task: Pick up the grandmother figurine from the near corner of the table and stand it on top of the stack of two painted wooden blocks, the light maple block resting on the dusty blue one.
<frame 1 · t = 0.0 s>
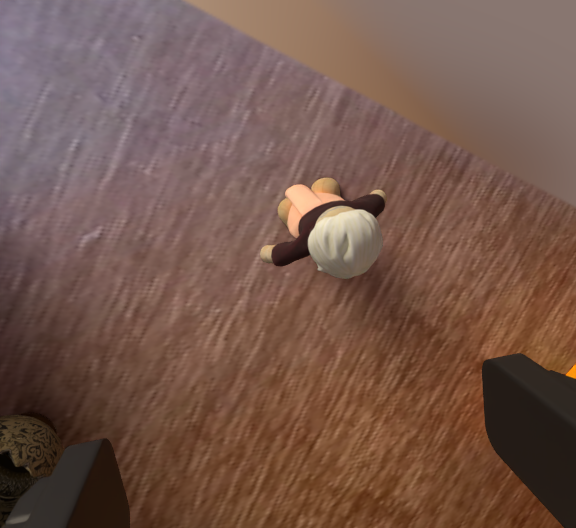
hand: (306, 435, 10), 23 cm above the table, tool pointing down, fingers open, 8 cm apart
orange juice: (567, 423, 39), on the table
cup: (34, 430, 33), on the table
grandmother figurine: (303, 209, 32), on the table
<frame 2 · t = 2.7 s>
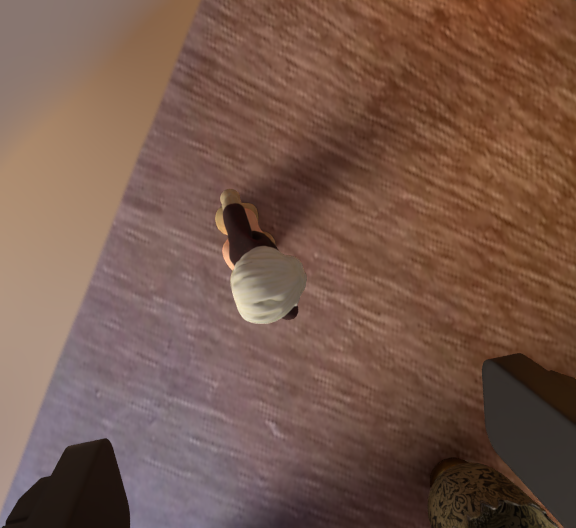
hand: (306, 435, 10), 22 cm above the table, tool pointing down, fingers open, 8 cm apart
cup: (447, 472, 38), on the table
grandmother figurine: (249, 240, 31), on the table
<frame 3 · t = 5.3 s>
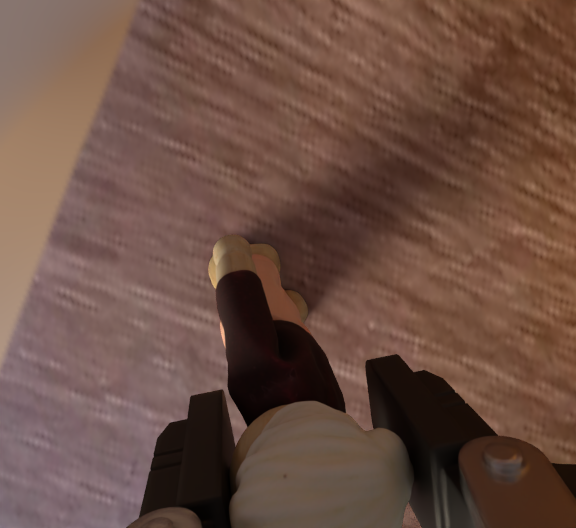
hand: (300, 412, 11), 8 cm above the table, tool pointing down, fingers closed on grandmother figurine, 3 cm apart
grandmother figurine: (264, 303, 19), on the table, touching gripper
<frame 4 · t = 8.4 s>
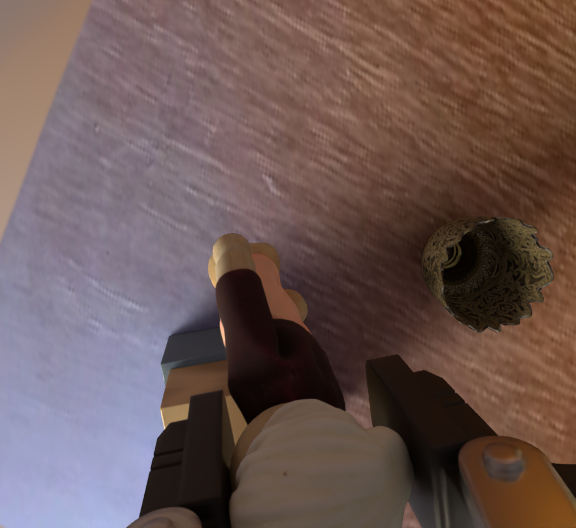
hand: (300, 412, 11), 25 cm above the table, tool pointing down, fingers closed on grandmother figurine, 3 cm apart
cup: (441, 251, 38), on the table
top block: (247, 416, 33), point 5 cm above the table, touching base block
grandmother figurine: (264, 302, 19), point 17 cm above the table, touching gripper
base block: (244, 383, 38), on the table, touching top block
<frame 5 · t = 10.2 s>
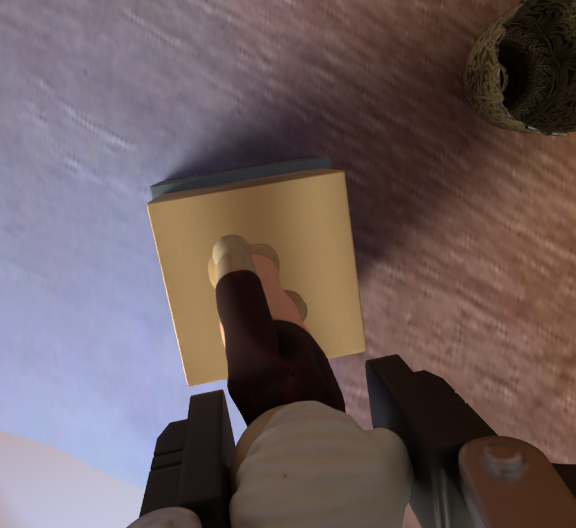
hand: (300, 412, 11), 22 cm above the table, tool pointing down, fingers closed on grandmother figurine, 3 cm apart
cup: (483, 82, 32), on the table
top block: (256, 259, 27), point 5 cm above the table, touching base block
grandmother figurine: (264, 303, 19), point 13 cm above the table, touching gripper
base block: (252, 243, 32), on the table, touching top block
when the fingers open (18 cm above the table, at t = 11.6 s): grandmother figurine stays where it is, resting on top block.
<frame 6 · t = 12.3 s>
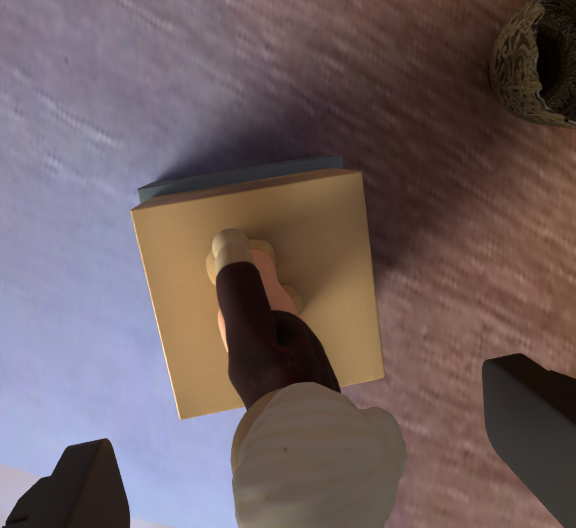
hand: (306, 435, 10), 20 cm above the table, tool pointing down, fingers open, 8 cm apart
cup: (508, 72, 29), on the table
top block: (259, 270, 24), point 5 cm above the table, touching base block, grandmother figurine
grandmother figurine: (261, 297, 20), point 10 cm above the table, touching top block
base block: (253, 251, 29), on the table, touching top block
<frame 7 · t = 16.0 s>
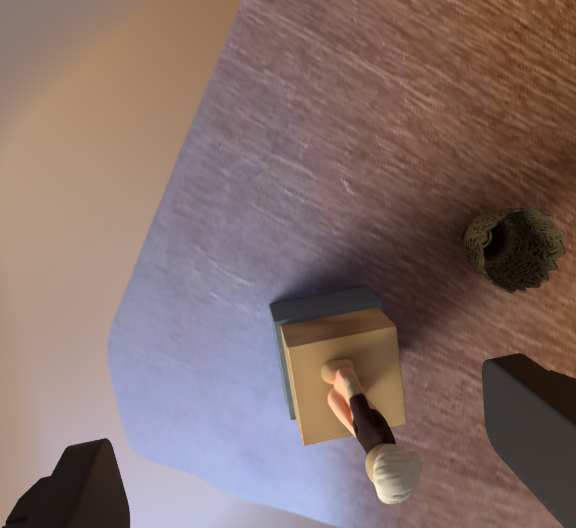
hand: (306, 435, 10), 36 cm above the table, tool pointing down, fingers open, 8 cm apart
cup: (476, 235, 49), on the table
top block: (335, 361, 44), point 5 cm above the table, touching base block, grandmother figurine
grandmother figurine: (345, 385, 39), point 10 cm above the table, touching top block
base block: (324, 340, 49), on the table, touching top block
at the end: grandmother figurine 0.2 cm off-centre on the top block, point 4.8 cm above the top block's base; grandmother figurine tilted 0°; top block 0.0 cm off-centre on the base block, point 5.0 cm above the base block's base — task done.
